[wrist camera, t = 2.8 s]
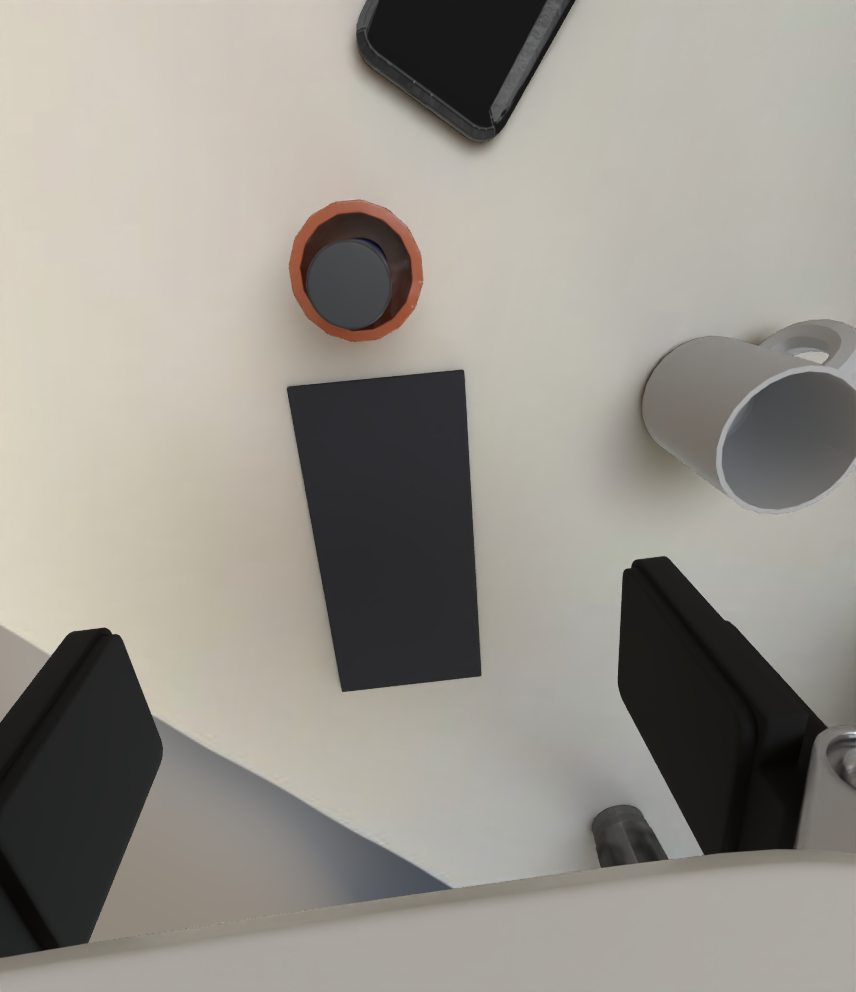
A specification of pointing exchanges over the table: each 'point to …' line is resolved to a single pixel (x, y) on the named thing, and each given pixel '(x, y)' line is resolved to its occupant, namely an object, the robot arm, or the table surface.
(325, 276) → the marker
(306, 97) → the table surface
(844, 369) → the cup
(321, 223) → the tumbler
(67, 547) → the table surface
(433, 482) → the desk mat
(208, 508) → the table surface
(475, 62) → the phone
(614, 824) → the beverage cup
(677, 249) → the table surface
